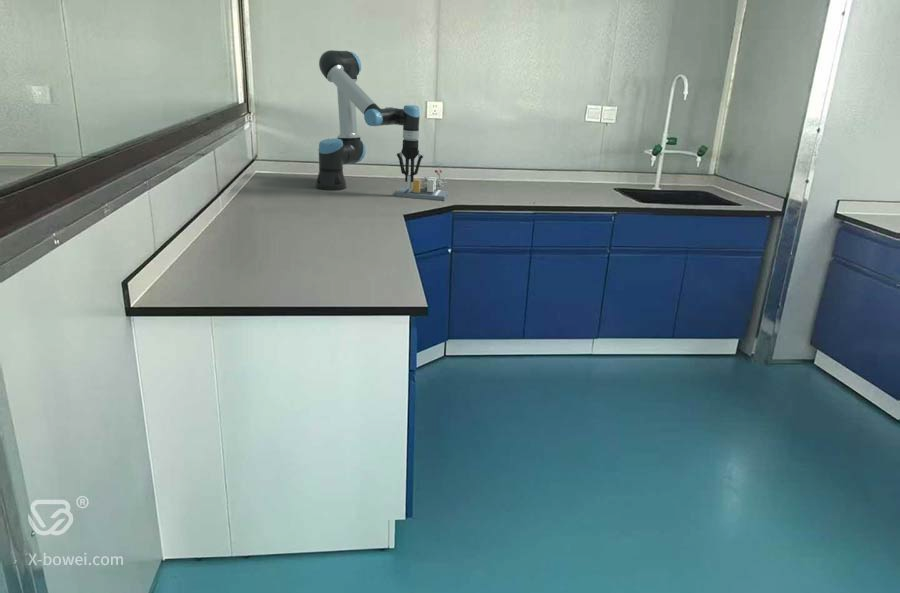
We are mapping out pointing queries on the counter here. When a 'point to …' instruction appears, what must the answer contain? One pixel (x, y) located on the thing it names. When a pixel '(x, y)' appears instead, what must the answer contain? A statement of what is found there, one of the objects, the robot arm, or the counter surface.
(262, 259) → the counter surface
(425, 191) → the breaker panel
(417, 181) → the toggle
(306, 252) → the counter surface
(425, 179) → the molecular model
